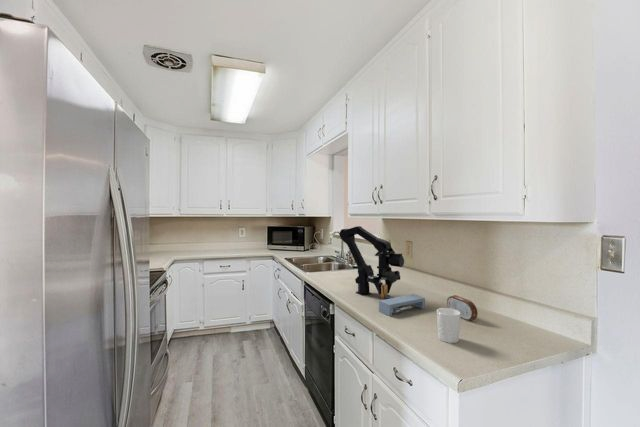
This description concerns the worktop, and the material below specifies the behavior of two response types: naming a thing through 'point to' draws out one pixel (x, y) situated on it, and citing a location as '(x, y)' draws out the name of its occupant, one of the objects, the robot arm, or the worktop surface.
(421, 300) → the bench
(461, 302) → the tin
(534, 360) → the worktop surface
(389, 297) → the hook tool
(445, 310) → the white cup
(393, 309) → the puck
